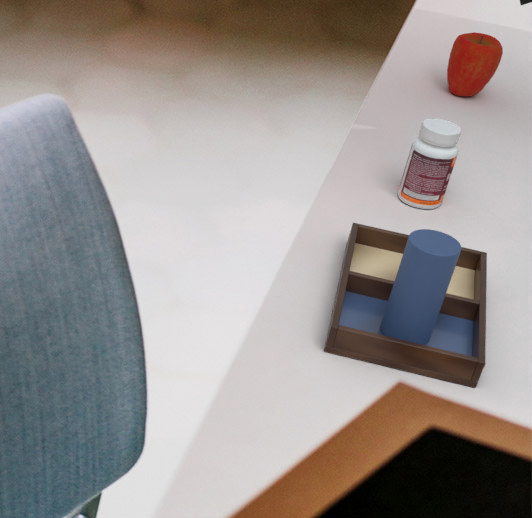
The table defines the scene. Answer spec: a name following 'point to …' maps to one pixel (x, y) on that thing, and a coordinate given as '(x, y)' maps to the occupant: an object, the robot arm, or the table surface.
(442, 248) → the blue cylinder
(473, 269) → the sorting tray
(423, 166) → the pill bottle
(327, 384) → the table surface
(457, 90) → the apple
